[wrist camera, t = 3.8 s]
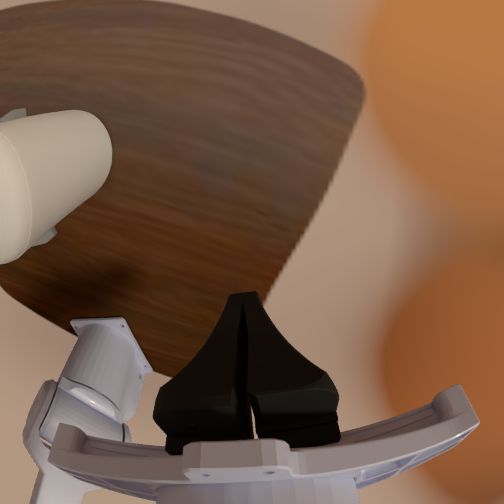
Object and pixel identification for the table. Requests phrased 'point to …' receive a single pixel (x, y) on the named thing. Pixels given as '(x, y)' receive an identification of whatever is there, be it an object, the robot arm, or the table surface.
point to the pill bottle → (47, 173)
